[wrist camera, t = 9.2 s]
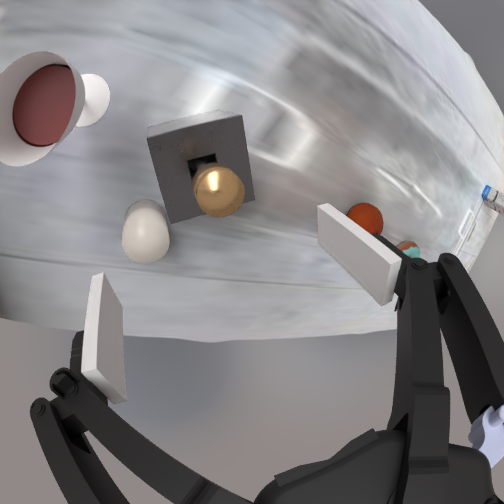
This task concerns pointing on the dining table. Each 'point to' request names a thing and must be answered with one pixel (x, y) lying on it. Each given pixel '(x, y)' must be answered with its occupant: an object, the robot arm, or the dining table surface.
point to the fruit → (367, 217)
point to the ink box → (493, 199)
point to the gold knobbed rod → (215, 186)
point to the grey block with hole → (196, 156)
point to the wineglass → (45, 105)
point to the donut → (409, 249)
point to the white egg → (145, 232)
